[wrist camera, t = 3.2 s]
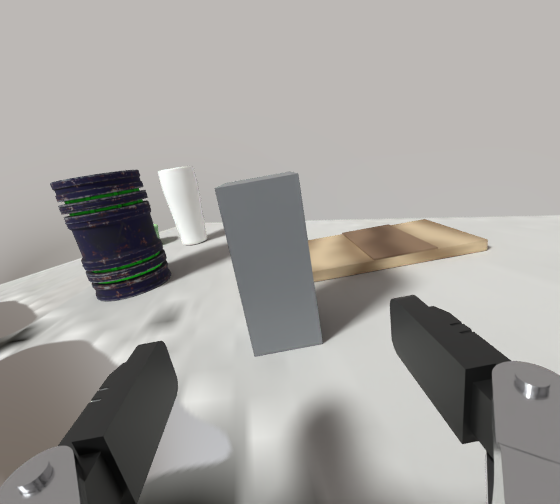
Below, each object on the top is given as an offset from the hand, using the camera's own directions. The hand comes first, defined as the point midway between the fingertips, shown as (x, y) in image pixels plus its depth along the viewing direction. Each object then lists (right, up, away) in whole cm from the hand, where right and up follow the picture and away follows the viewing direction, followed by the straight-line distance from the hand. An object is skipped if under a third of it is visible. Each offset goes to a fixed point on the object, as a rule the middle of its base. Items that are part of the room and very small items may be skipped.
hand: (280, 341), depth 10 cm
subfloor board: (+10, +3, +26) cm, 28 cm away
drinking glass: (-18, +5, +49) cm, 52 cm away
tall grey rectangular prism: (0, -3, +13) cm, 13 cm away
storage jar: (-20, -2, +30) cm, 36 cm away
